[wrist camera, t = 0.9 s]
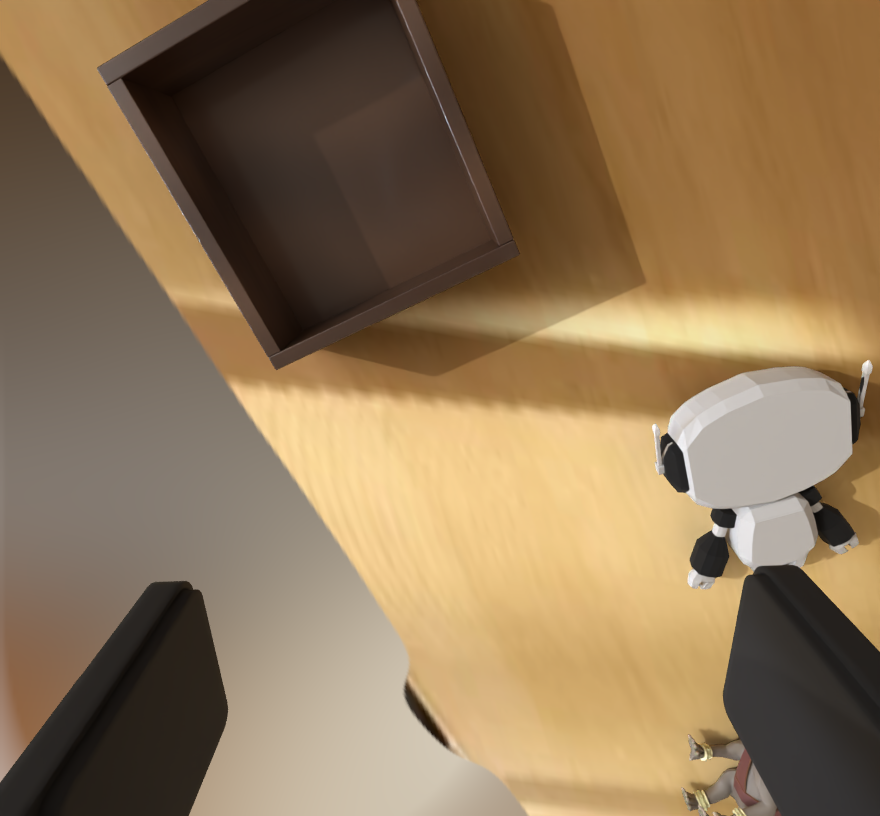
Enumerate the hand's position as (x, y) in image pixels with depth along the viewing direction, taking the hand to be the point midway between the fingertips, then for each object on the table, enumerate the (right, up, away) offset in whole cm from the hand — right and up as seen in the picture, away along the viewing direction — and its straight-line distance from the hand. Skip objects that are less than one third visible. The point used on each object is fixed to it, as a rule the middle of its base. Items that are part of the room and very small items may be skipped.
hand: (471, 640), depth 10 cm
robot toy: (+20, 0, +28) cm, 35 cm away
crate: (-6, +17, +22) cm, 29 cm away
